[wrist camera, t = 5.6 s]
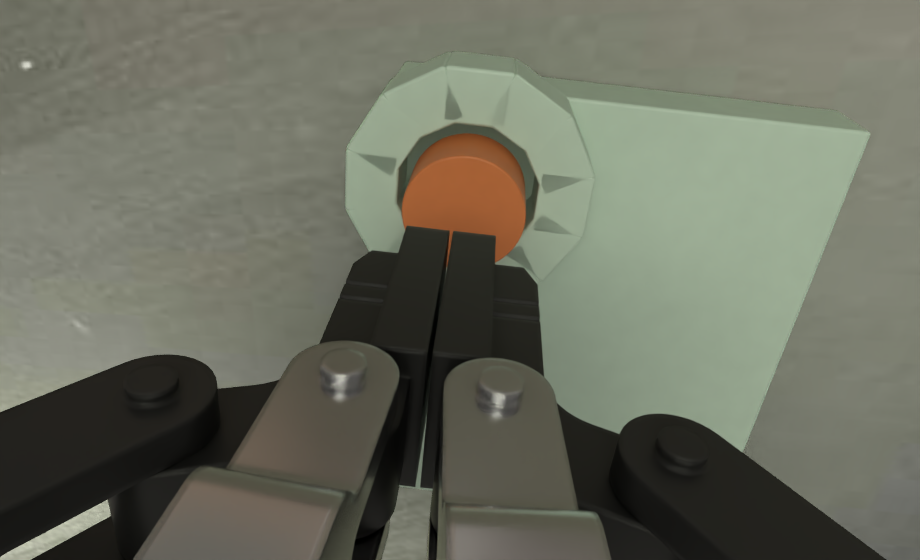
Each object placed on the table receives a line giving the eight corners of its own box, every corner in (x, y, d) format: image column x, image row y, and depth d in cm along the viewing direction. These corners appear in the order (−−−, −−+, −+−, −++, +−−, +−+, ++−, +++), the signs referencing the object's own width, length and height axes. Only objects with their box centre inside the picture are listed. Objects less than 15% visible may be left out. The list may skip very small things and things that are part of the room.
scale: (376, 25, 17) (346, 53, 14) (850, 79, 17) (923, 119, 14) (362, 441, 24) (339, 521, 21) (700, 482, 24) (727, 569, 21)
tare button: (414, 125, 15) (404, 148, 14) (532, 139, 15) (534, 164, 14) (407, 233, 16) (397, 263, 15) (517, 245, 16) (516, 277, 15)
